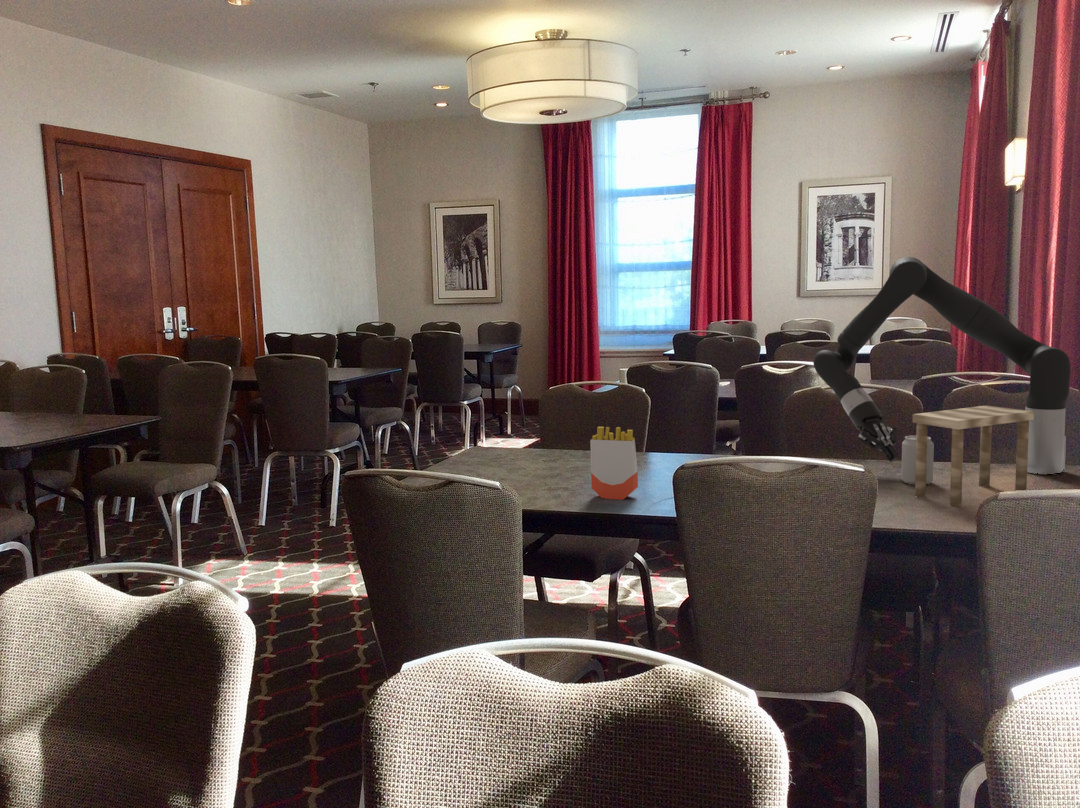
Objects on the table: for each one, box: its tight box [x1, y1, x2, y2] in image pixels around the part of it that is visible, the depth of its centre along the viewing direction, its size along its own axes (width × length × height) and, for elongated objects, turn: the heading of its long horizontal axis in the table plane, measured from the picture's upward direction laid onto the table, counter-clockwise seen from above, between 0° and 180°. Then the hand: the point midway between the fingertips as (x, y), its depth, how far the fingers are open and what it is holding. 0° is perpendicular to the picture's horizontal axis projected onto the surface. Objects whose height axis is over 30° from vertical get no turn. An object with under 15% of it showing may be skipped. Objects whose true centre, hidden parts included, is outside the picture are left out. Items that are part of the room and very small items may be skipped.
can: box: [900, 435, 935, 485], centre depth 225 cm, size 8×8×12 cm
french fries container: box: [589, 426, 639, 500], centre depth 220 cm, size 5×11×18 cm, turn 68°
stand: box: [912, 405, 1034, 508], centre depth 210 cm, size 25×13×20 cm, turn 115°
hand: (894, 459), depth 232 cm, fingers closed
